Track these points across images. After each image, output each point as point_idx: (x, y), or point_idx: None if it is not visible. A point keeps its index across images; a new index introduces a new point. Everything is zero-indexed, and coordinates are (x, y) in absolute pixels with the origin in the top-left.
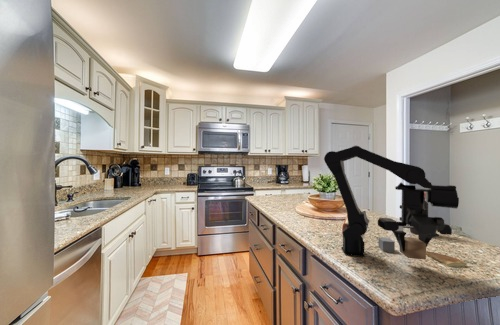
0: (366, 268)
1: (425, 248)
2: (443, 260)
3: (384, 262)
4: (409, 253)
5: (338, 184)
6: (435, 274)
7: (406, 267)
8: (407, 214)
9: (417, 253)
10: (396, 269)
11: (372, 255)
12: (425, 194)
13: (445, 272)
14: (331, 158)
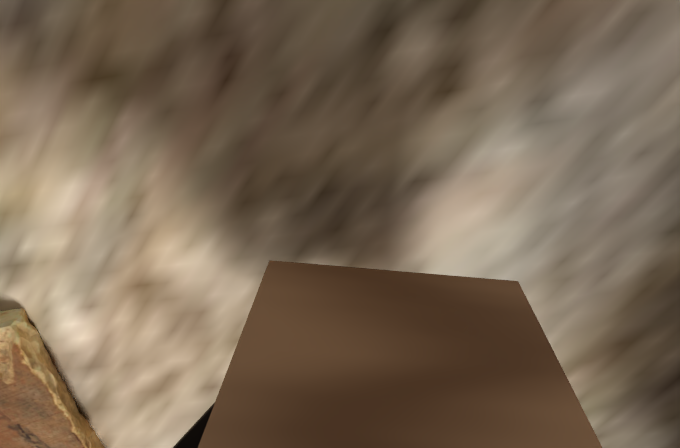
0: None
1: (229, 401)
2: (18, 371)
3: (619, 321)
4: (516, 330)
5: None
6: (230, 137)
7: (453, 247)
8: None
9: (390, 324)
10: (614, 191)
11: (623, 431)
12: None
13: (101, 195)
14: None
